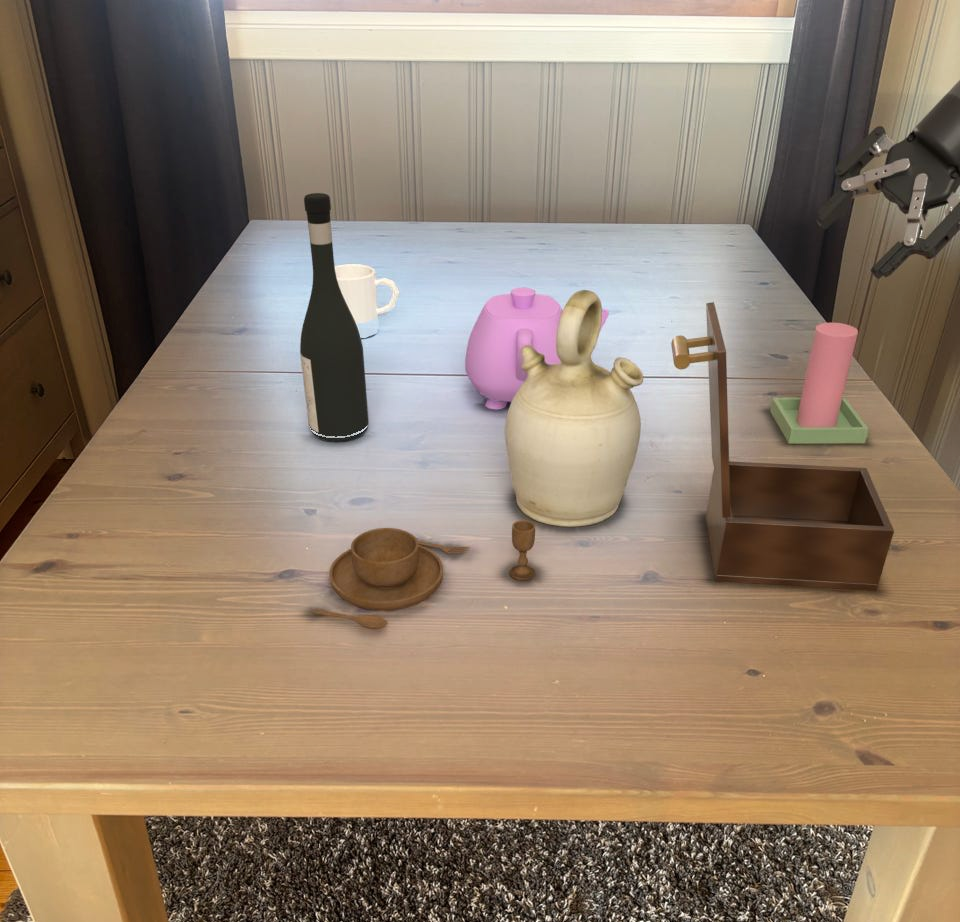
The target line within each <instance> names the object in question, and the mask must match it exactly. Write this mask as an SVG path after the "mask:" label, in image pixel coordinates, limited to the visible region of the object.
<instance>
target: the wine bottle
mask: <svg viewBox="0 0 960 922" xmlns="http://www.w3.org/2000/svg"><path fill="white" fill-rule="evenodd" d="M303 203H304V211H305V212H306V219H307V226H308V227H307V228H308V237H309V244H310V254H311V255H310V256H311V264H312V265H311V266H312V285H311V292H310V296H309V301H308V305H307V308H306V313H305V316H304V319H303V323H302V327H301V333H300V344H299V354H300V362H301V363H300V364H301V372H302V380H303V388H304V396H305V403H306V404H305V405H306V406H305V407H306V412H307V413H306V414H307V421H308V427H309V426H310V428H311V430H313V431H315V432H316V433H318V434H322V435H325V436H335V437H337V436H347V435H351V434H353V433H356V432H358V431H361V430H362V429H364V428H365V427H366V426H367V425H368V427H367V428H366V429H365V430H364V431H363V432H361V433H359V434H357V435H354V436H350V437H345V438H326V437H322V436H318V435H316V434H314V433H313V432H312V431H311V430H310V432H311V434H312V435H313V436H314V437H316V438H318V439H319V440H322V441H325V442H328V443H329V442H330V443H342V442H349V441H353V440H355V439H358V438H359V437H362V436H363V435H364V434H365V433H366V432H367V431H368V428H369V408H368V395H367V381H366V369H365V368H366V367H365V355H364V347H363V342H362V339H361V337H360V333H359V330H358V327H357V325H356V322H355V320H354V318H353V316H352V314H351V312H350V310H349V308H348V306H347V304H346V301H345V299H344V297H343V295H342V293H341V290H340V287H339V284H338V281H337V277H336V273H335V266H336V265H335V258H334V257H335V256H334V246H333V245H334V243H333V234H332V233H333V231H332V222H331V211H332V207H331V196H330V195H328V193H324V192H313V193H308V194H306V195H304V197H303ZM310 428H309V429H310Z"/></svg>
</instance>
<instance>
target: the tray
mask: <svg viewBox="0 0 960 922" xmlns="http://www.w3.org/2000/svg"><path fill="white" fill-rule="evenodd" d="M800 401H801V397H772V399H771V405H770V410H769V412H770V414H771V416H772V418H773V419H774V421H775V423H776V424H777V427H778V428H779V430H780V431H781V433H782V435H783V436H784V438H785V441H786V442H787V444H788V445H789V444H792V445H793V444H803V445H805V444H806V445H807V444H815V445H817V444H826V445H827V444H831V445H832V444H866V441H867V438H868V435H869V430H870V429H869V427H868V426H867V424H866V423H865V422H864V421H863V419H862V418H861V416H860V415H859V413H858V412H857V410H855V408H854V407H853V406H852V404H851V403H850V402H849V400H848V399H847V398H846V397H844V396H843V398H842V402H841V406H840V410H839V415H838V419H837V423H836V427H801V426H799V425H798V424H797V416H798V411H799V406H800Z"/></svg>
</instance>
